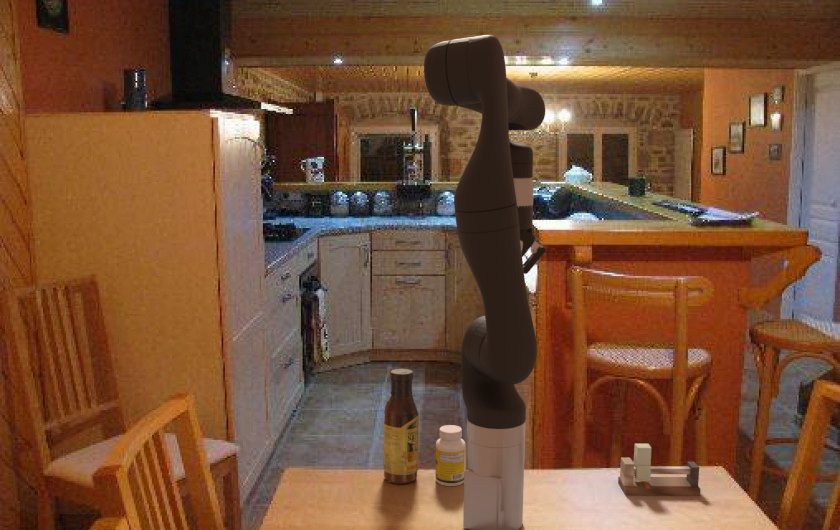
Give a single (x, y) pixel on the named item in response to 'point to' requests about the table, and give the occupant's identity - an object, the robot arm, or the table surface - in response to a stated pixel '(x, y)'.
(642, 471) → the white upright block
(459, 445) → the supplement bottle
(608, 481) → the table surface
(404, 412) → the sauce bottle
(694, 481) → the board
